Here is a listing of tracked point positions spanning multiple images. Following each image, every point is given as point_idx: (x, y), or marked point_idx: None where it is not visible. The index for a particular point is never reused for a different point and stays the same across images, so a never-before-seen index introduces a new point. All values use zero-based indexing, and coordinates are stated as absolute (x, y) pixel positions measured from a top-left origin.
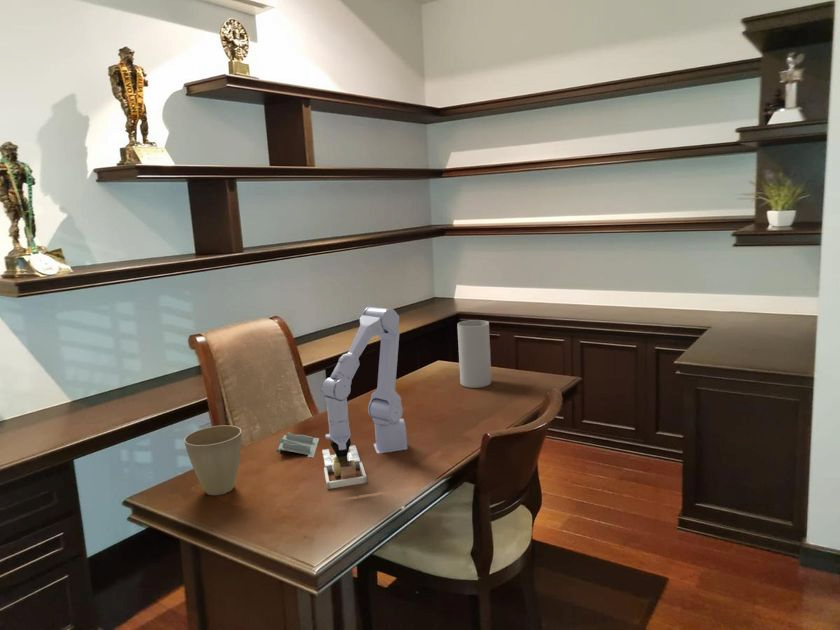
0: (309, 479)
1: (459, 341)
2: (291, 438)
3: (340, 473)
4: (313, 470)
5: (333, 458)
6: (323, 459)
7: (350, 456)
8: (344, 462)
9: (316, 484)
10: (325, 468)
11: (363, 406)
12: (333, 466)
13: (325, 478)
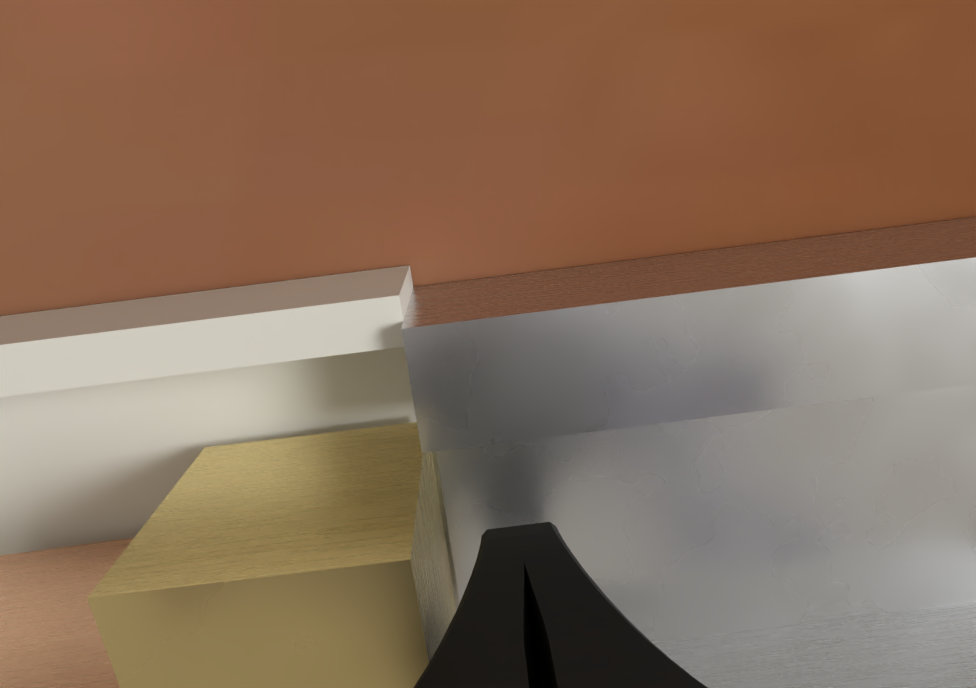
0: (276, 10)
1: None
2: None
3: None
4: (630, 62)
5: (350, 580)
6: (949, 228)
7: (880, 614)
8: None
9: (68, 152)
10: (348, 328)
11: None
12: (351, 476)
13: (76, 322)
